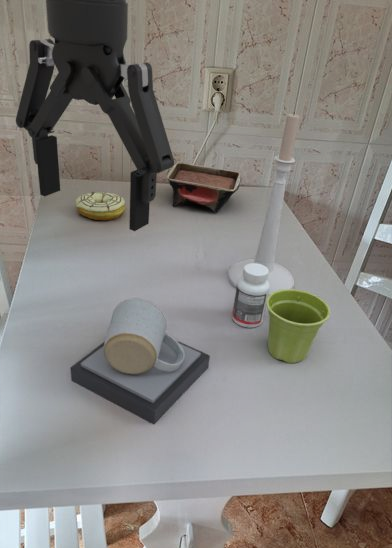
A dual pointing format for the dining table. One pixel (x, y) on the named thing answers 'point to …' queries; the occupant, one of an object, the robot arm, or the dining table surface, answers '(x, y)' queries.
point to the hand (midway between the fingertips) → (93, 209)
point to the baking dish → (203, 184)
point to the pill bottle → (251, 296)
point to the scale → (141, 381)
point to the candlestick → (273, 218)
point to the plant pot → (294, 323)
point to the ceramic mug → (139, 338)
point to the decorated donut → (100, 205)
